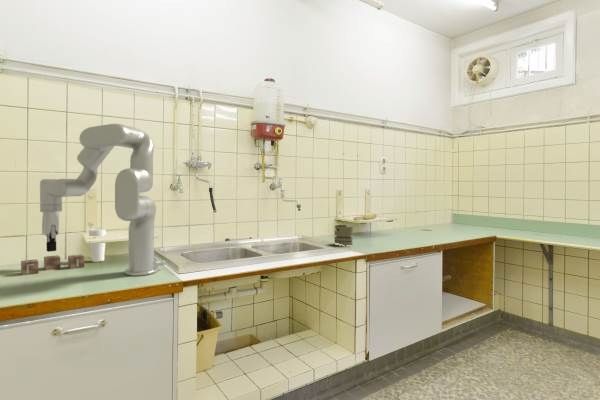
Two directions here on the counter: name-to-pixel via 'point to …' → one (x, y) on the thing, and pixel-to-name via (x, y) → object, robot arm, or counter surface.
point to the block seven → (29, 267)
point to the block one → (76, 261)
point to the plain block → (52, 262)
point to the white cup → (97, 245)
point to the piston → (343, 234)
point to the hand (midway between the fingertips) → (51, 250)
